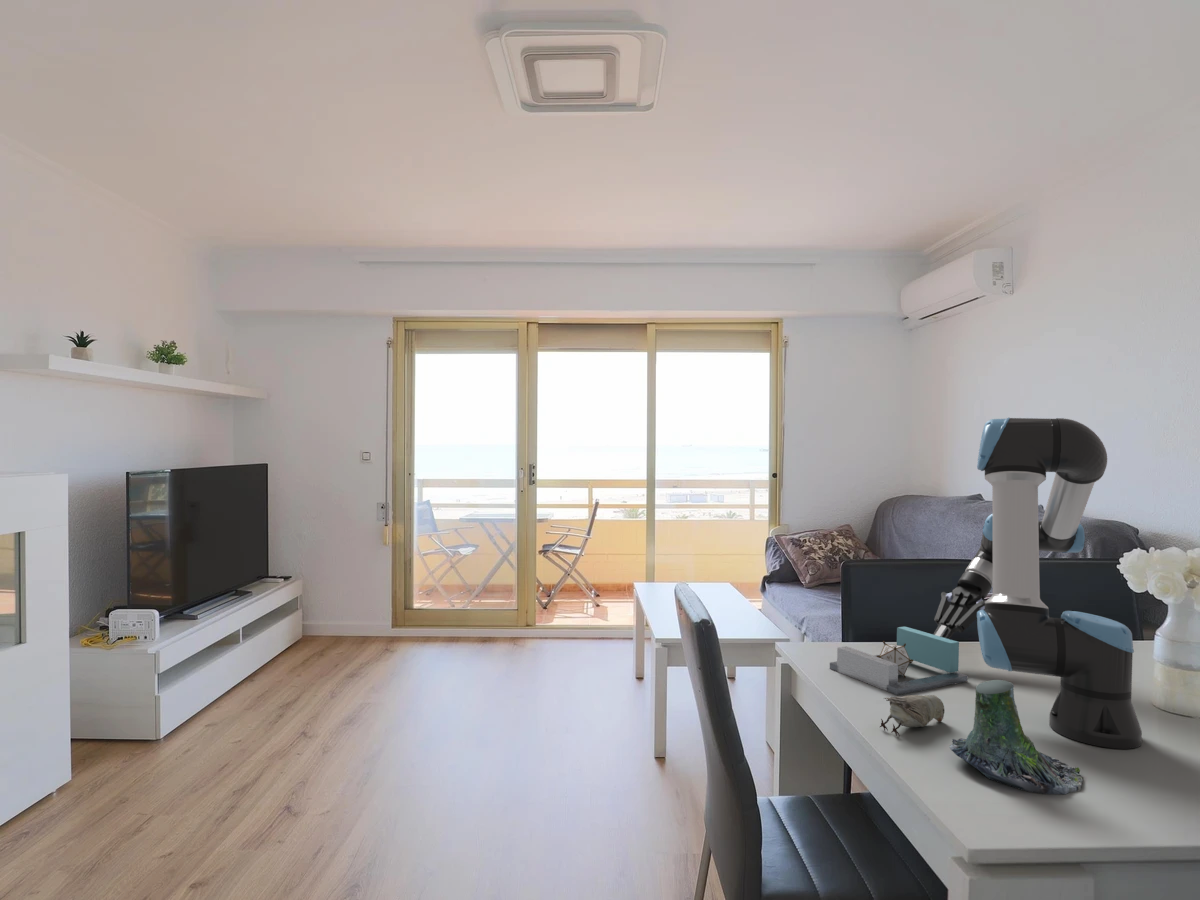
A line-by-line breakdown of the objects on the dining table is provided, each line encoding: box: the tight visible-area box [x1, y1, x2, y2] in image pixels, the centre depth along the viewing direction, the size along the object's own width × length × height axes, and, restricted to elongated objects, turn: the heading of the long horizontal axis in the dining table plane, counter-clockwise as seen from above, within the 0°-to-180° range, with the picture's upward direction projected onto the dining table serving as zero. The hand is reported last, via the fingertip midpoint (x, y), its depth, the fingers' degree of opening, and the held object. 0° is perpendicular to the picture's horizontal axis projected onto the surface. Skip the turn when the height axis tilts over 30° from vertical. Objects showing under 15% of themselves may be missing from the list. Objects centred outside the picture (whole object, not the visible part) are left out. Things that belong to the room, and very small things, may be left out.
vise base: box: [829, 646, 968, 696], centre depth 176 cm, size 21×24×6 cm
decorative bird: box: [879, 694, 945, 738], centre depth 142 cm, size 5×16×7 cm, turn 117°
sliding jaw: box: [896, 626, 960, 673], centre depth 180 cm, size 16×3×7 cm, turn 26°
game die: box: [876, 640, 915, 679], centre depth 175 cm, size 9×8×10 cm
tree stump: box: [949, 679, 1084, 795], centre depth 124 cm, size 18×20×18 cm
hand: (933, 648), depth 182 cm, fingers closed
